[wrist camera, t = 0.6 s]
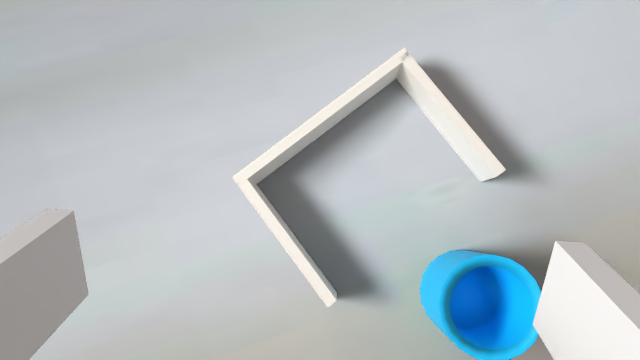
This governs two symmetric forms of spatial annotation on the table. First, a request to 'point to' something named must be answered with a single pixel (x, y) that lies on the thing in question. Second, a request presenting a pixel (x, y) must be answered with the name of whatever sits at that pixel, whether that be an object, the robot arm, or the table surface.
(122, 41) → the table surface
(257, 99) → the table surface
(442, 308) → the mug
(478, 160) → the box
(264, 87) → the table surface
